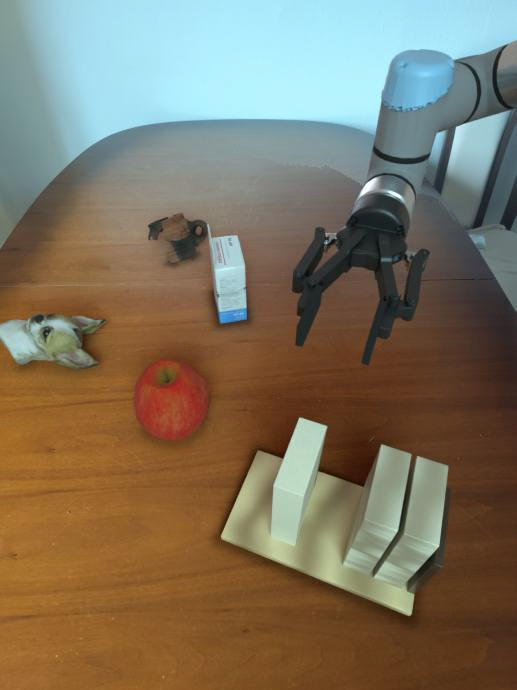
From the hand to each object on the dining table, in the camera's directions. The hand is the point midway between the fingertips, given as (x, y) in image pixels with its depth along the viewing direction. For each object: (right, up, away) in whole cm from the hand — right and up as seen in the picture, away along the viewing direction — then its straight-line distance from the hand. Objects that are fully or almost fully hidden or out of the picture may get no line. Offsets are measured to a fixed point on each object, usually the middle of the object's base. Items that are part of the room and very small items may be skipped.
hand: (332, 345), depth 43 cm
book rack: (+1, -22, +11) cm, 24 cm away
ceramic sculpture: (-39, -1, +29) cm, 49 cm away
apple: (-19, -10, +21) cm, 31 cm away
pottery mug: (-23, +19, +48) cm, 56 cm away
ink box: (-12, +7, +37) cm, 39 cm away
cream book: (-3, -20, +11) cm, 23 cm away
